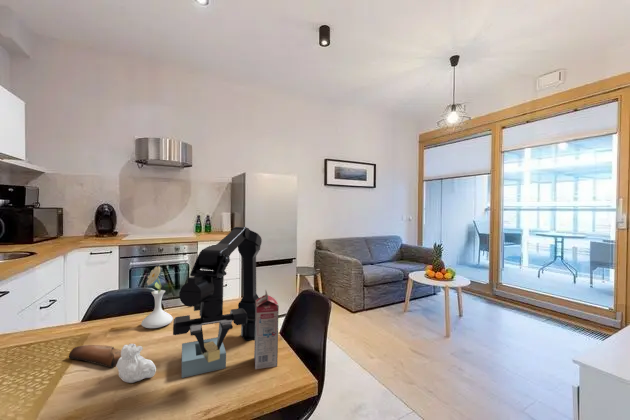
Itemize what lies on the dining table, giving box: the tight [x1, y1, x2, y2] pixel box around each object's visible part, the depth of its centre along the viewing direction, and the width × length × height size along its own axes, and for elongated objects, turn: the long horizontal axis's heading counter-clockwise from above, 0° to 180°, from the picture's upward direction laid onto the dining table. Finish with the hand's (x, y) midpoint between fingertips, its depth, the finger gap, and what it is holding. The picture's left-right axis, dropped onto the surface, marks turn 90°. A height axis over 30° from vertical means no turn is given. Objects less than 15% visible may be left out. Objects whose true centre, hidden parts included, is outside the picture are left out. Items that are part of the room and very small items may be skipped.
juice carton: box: [253, 290, 279, 370], centre depth 85 cm, size 7×7×22 cm
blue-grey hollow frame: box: [181, 336, 227, 379], centre depth 84 cm, size 12×12×4 cm
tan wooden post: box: [202, 341, 220, 362], centre depth 74 cm, size 3×6×2 cm, turn 38°
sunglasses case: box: [68, 344, 122, 369], centre depth 86 cm, size 18×7×7 cm, turn 75°
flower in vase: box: [140, 265, 174, 329], centre depth 111 cm, size 13×11×25 cm
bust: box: [115, 343, 157, 384], centre depth 75 cm, size 12×8×11 cm
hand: (210, 351), depth 74 cm, fingers closed on tan wooden post, 3 cm apart
